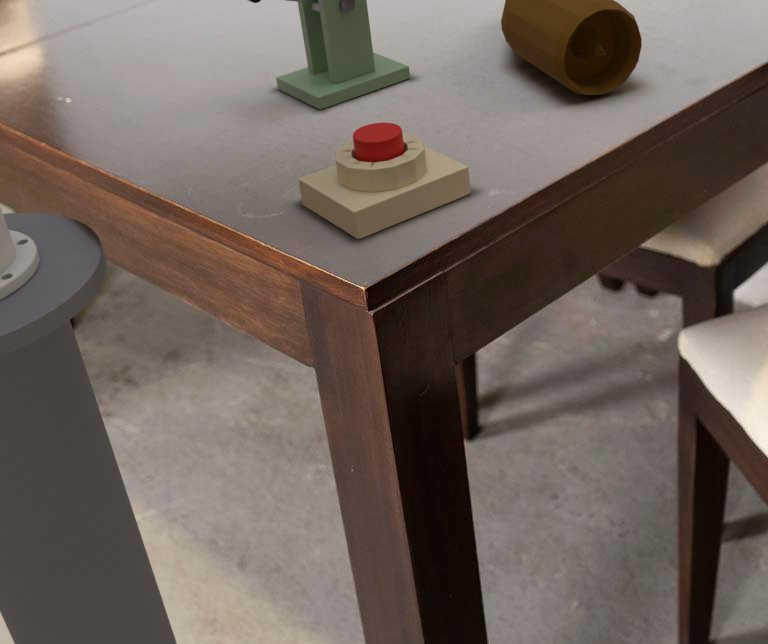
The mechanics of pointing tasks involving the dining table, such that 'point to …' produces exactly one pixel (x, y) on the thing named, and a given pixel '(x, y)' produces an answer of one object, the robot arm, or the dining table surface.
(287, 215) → the dining table surface
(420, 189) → the switch block
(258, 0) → the lever
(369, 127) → the light button
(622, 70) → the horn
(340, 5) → the mains bracket
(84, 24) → the dining table surface
